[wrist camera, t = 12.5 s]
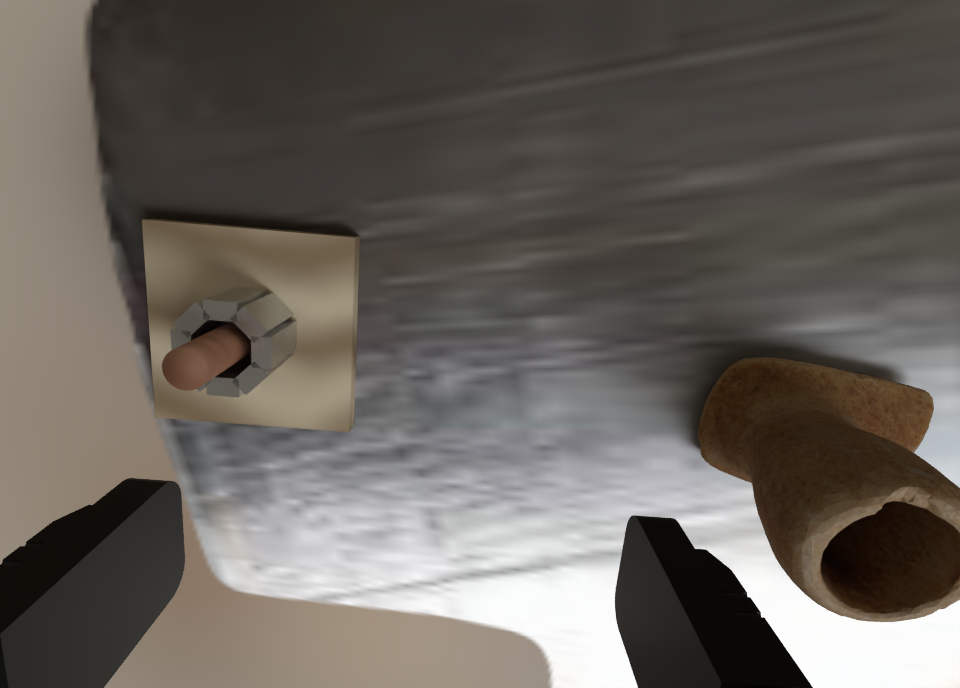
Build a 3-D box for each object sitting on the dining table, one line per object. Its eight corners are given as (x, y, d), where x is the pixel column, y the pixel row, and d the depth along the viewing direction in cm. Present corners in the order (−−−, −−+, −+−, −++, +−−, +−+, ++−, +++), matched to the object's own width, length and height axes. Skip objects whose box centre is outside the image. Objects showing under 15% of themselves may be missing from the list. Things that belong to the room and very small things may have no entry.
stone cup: (668, 479, 43) (767, 622, 28) (720, 336, 40) (859, 412, 26) (848, 519, 44) (1031, 676, 29) (911, 382, 41) (1149, 480, 27)
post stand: (154, 218, 38) (36, 225, 27) (359, 236, 38) (317, 249, 28) (166, 409, 41) (65, 478, 31) (354, 423, 42) (314, 495, 31)
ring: (208, 284, 37) (168, 296, 32) (297, 291, 37) (270, 304, 33) (211, 368, 39) (173, 392, 34) (297, 375, 39) (271, 399, 34)
